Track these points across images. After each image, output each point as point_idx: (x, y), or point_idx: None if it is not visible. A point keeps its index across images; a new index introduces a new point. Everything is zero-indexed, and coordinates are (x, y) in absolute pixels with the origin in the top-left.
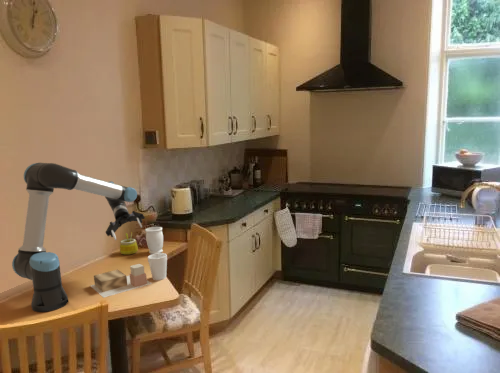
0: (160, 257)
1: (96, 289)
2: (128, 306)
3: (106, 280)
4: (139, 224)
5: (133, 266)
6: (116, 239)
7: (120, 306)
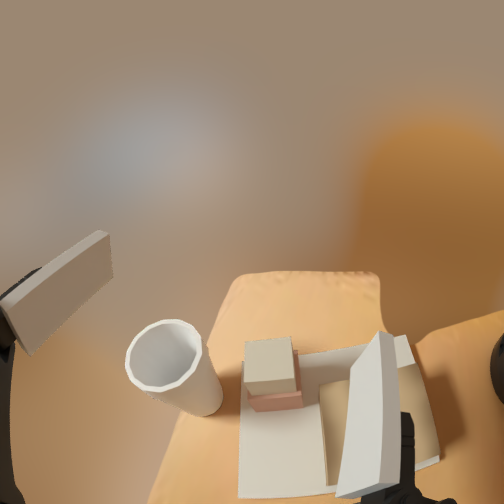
0: (144, 382)
1: None
2: (345, 280)
3: (400, 369)
4: (109, 245)
5: (283, 361)
6: (352, 366)
7: (363, 288)
